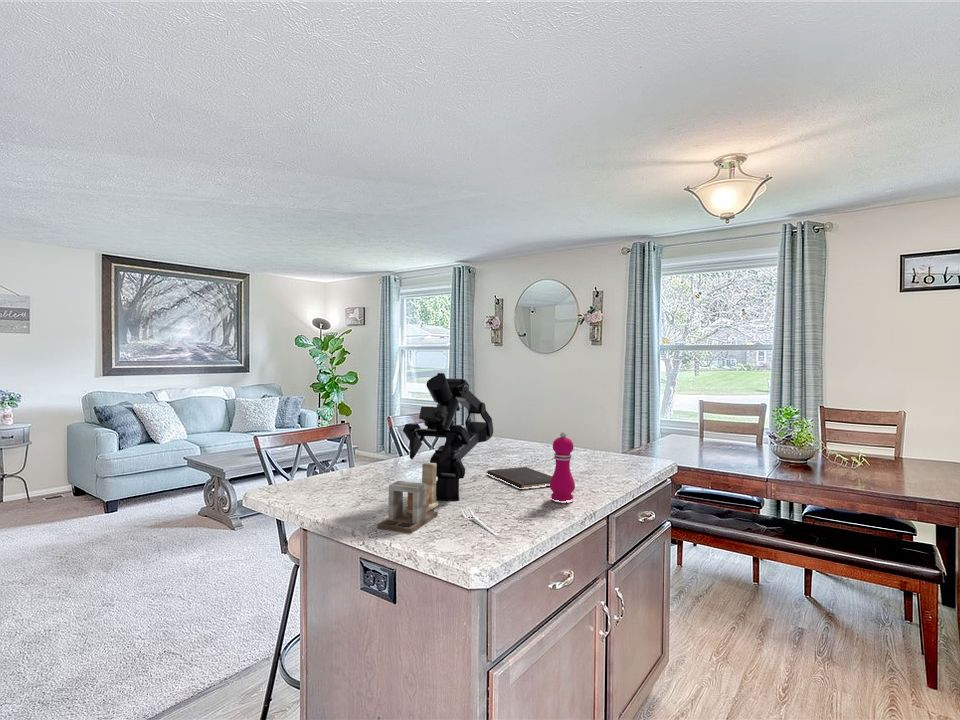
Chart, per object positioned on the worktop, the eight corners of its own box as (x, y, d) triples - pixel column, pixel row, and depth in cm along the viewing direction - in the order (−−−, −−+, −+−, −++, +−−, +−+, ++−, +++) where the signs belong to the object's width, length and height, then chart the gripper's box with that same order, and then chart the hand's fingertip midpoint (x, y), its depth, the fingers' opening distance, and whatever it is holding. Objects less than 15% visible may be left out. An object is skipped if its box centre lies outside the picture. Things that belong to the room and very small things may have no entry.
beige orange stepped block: (423, 503, 140) (424, 462, 140) (438, 504, 138) (438, 463, 138) (405, 513, 130) (406, 469, 130) (421, 515, 129) (422, 470, 129)
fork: (492, 542, 116) (492, 534, 116) (459, 515, 134) (459, 508, 134) (505, 540, 117) (505, 532, 117) (470, 513, 136) (470, 506, 136)
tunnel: (406, 511, 135) (407, 476, 135) (437, 515, 132) (438, 479, 132) (377, 528, 122) (378, 488, 122) (411, 533, 119) (412, 492, 119)
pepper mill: (577, 499, 151) (578, 431, 151) (571, 505, 144) (572, 434, 144) (553, 496, 154) (554, 429, 154) (546, 502, 147) (547, 432, 147)
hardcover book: (525, 473, 188) (525, 466, 188) (562, 487, 168) (563, 480, 168) (486, 476, 181) (486, 470, 181) (521, 492, 160) (521, 484, 160)
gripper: (405, 395, 146) (383, 440, 136) (463, 395, 138) (444, 443, 128) (420, 419, 153) (400, 463, 143) (477, 420, 145) (460, 468, 135)
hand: (425, 459), depth 137 cm, fingers open, 9 cm apart
